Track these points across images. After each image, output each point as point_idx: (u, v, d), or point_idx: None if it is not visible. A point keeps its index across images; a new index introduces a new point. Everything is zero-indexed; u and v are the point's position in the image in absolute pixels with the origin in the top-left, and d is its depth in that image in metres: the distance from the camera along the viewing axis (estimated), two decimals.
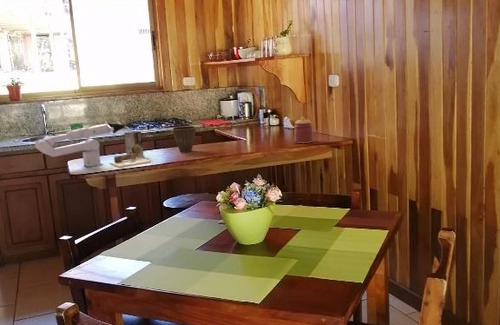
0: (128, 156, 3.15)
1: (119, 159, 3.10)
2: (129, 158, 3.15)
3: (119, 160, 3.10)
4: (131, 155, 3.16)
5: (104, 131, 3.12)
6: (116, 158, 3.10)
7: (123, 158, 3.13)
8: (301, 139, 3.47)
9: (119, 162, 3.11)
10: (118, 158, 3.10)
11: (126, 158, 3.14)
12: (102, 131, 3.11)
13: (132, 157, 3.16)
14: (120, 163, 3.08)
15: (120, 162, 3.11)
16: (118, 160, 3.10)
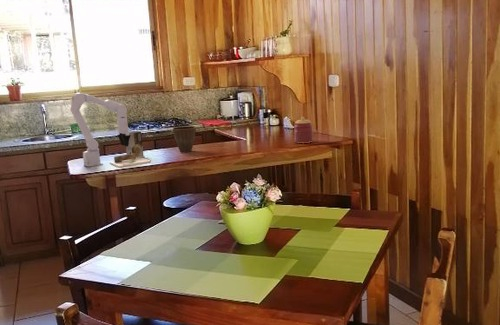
0: (128, 156, 3.15)
1: (119, 159, 3.10)
2: (129, 158, 3.15)
3: (119, 160, 3.10)
4: (131, 155, 3.16)
5: (122, 127, 3.14)
6: (116, 158, 3.10)
7: (123, 158, 3.13)
8: (301, 139, 3.47)
9: (119, 162, 3.11)
10: (118, 158, 3.10)
11: (126, 158, 3.14)
12: (123, 125, 3.14)
13: (132, 157, 3.16)
14: (120, 163, 3.08)
15: (120, 162, 3.11)
16: (118, 160, 3.10)
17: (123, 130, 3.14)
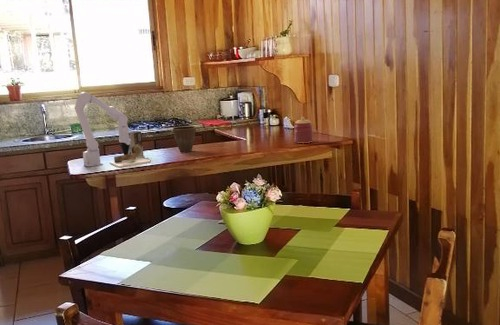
0: (128, 156, 3.15)
1: (119, 159, 3.10)
2: (129, 158, 3.15)
3: (119, 160, 3.10)
4: (131, 155, 3.16)
5: (123, 136, 3.15)
6: (116, 158, 3.10)
7: (123, 158, 3.13)
8: (301, 139, 3.47)
9: (119, 162, 3.11)
10: (118, 158, 3.10)
11: (126, 158, 3.14)
12: (124, 134, 3.15)
13: (132, 157, 3.16)
14: (120, 163, 3.08)
15: (120, 162, 3.11)
16: (118, 160, 3.10)
17: (124, 139, 3.15)
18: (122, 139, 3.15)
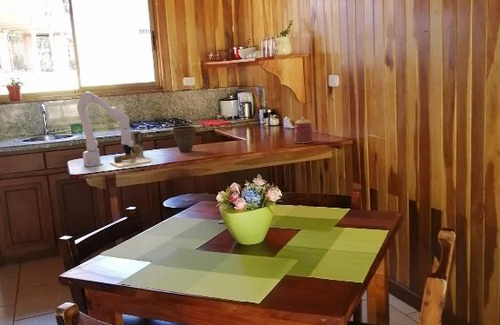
0: (128, 156, 3.15)
1: (119, 159, 3.10)
2: (129, 158, 3.15)
3: (119, 160, 3.10)
4: (131, 155, 3.16)
5: (126, 138, 3.12)
6: (116, 158, 3.10)
7: (123, 158, 3.13)
8: (301, 139, 3.47)
9: (119, 162, 3.11)
10: (118, 158, 3.10)
11: (126, 158, 3.14)
12: (126, 136, 3.12)
13: (132, 157, 3.16)
14: (120, 163, 3.08)
15: (120, 162, 3.11)
16: (118, 160, 3.10)
17: (126, 141, 3.12)
18: (124, 141, 3.12)
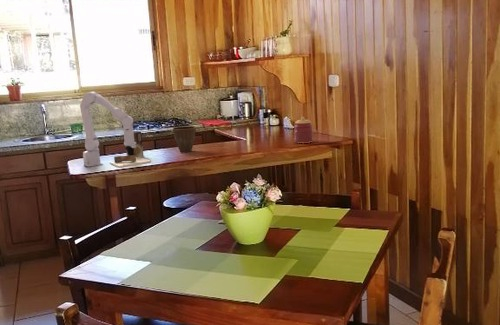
0: (127, 157, 3.10)
1: (116, 159, 3.10)
2: (128, 159, 3.11)
3: (116, 160, 3.10)
4: (130, 157, 3.10)
5: (129, 139, 3.08)
6: (114, 158, 3.11)
7: (122, 159, 3.11)
8: (301, 139, 3.47)
9: (119, 162, 3.11)
10: (116, 158, 3.10)
11: (125, 159, 3.11)
12: (129, 137, 3.08)
13: (131, 159, 3.10)
14: (120, 163, 3.08)
15: (120, 162, 3.11)
16: (116, 160, 3.10)
17: (129, 142, 3.08)
18: (127, 142, 3.08)
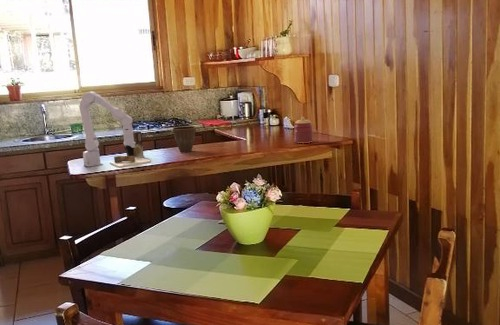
0: (127, 158, 3.10)
1: (116, 159, 3.10)
2: (127, 160, 3.10)
3: (116, 160, 3.10)
4: (129, 157, 3.09)
5: (128, 139, 3.09)
6: (114, 158, 3.11)
7: (122, 159, 3.11)
8: (301, 139, 3.47)
9: (119, 162, 3.11)
10: (115, 158, 3.10)
11: (125, 159, 3.10)
12: (128, 137, 3.08)
13: (130, 159, 3.09)
14: (120, 163, 3.08)
15: (120, 162, 3.11)
16: (115, 160, 3.10)
17: (129, 142, 3.09)
18: (127, 142, 3.09)
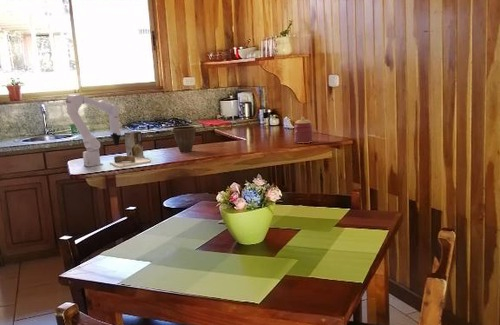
0: (127, 158, 3.10)
1: (116, 159, 3.10)
2: (127, 160, 3.10)
3: (116, 160, 3.10)
4: (129, 157, 3.09)
5: (114, 127, 3.18)
6: (114, 158, 3.11)
7: (122, 159, 3.11)
8: (301, 139, 3.47)
9: (119, 162, 3.11)
10: (115, 158, 3.10)
11: (125, 159, 3.10)
12: (114, 125, 3.18)
13: (130, 159, 3.09)
14: (120, 163, 3.08)
15: (120, 162, 3.11)
16: (115, 160, 3.10)
17: (115, 130, 3.18)
18: (113, 129, 3.18)
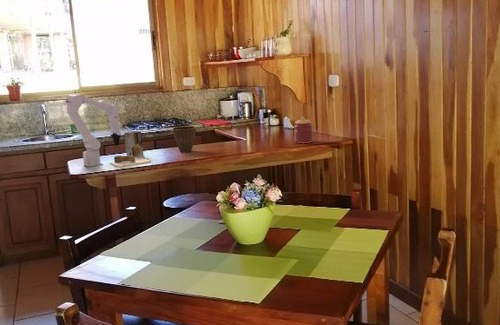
0: (127, 158, 3.10)
1: (116, 159, 3.10)
2: (127, 160, 3.10)
3: (116, 160, 3.10)
4: (129, 157, 3.09)
5: (114, 127, 3.18)
6: (114, 158, 3.11)
7: (122, 159, 3.11)
8: (301, 139, 3.47)
9: (119, 162, 3.11)
10: (115, 158, 3.10)
11: (125, 159, 3.10)
12: (114, 125, 3.18)
13: (130, 159, 3.09)
14: (120, 163, 3.08)
15: (120, 162, 3.11)
16: (115, 160, 3.10)
17: (115, 130, 3.18)
18: (113, 129, 3.18)
